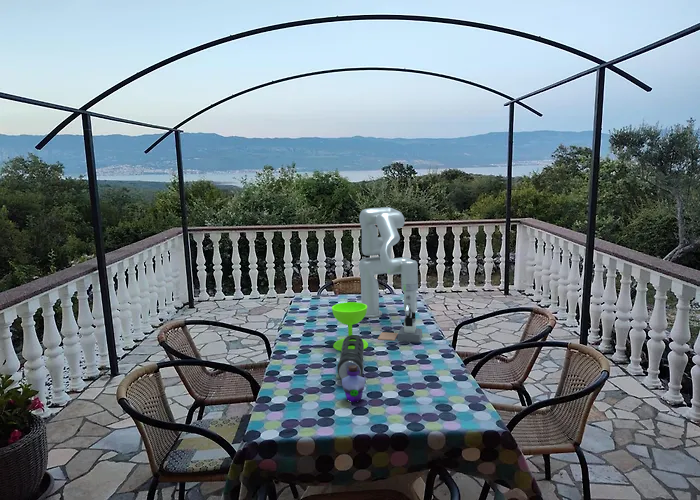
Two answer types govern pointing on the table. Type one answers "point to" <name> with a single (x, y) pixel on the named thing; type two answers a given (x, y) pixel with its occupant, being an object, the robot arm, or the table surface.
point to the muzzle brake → (351, 355)
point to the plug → (410, 327)
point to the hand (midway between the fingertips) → (410, 322)
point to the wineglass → (349, 319)
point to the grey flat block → (410, 335)
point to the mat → (387, 336)
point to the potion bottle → (353, 384)
